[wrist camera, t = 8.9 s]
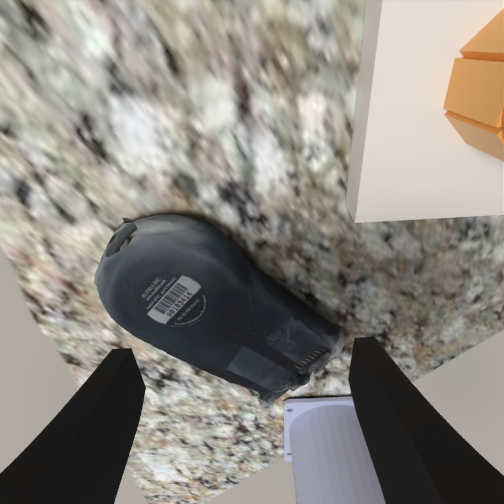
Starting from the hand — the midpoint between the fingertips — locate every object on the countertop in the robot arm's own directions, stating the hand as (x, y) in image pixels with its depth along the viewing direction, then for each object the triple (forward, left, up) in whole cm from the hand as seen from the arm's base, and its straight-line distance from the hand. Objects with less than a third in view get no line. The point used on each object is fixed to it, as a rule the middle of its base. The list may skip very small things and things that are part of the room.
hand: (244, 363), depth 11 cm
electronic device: (-5, +2, -10) cm, 12 cm away
